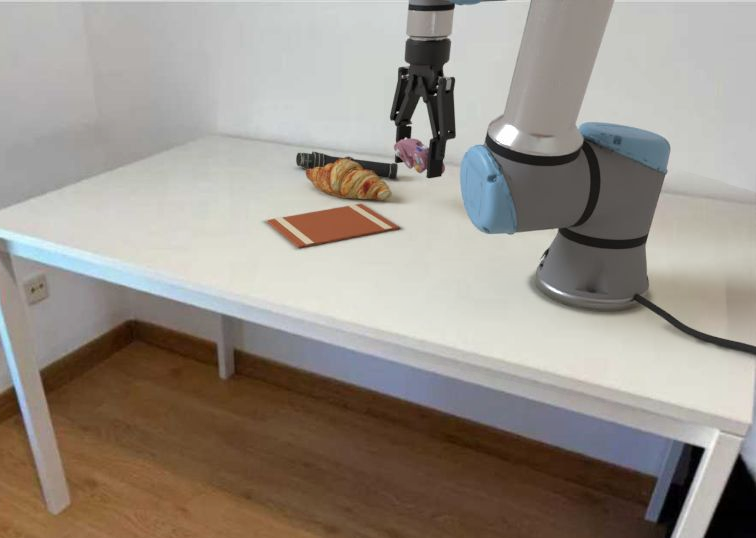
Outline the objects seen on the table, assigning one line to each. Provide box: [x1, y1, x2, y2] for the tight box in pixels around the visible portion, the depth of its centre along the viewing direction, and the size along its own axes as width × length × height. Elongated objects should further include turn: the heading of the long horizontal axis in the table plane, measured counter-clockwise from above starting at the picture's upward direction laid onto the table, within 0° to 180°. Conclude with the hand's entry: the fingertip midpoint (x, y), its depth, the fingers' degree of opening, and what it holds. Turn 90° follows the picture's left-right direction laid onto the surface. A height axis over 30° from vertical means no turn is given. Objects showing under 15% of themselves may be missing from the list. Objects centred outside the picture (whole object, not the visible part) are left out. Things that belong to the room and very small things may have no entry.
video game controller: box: [393, 137, 446, 175], centre depth 125 cm, size 10×5×7 cm, turn 25°
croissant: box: [305, 157, 392, 201], centre depth 140 cm, size 21×10×8 cm, turn 51°
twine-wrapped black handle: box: [295, 150, 399, 180], centre depth 152 cm, size 4×5×25 cm
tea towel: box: [267, 203, 400, 249], centre depth 126 cm, size 14×20×1 cm
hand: (417, 169), depth 126 cm, fingers closed on video game controller, 10 cm apart
